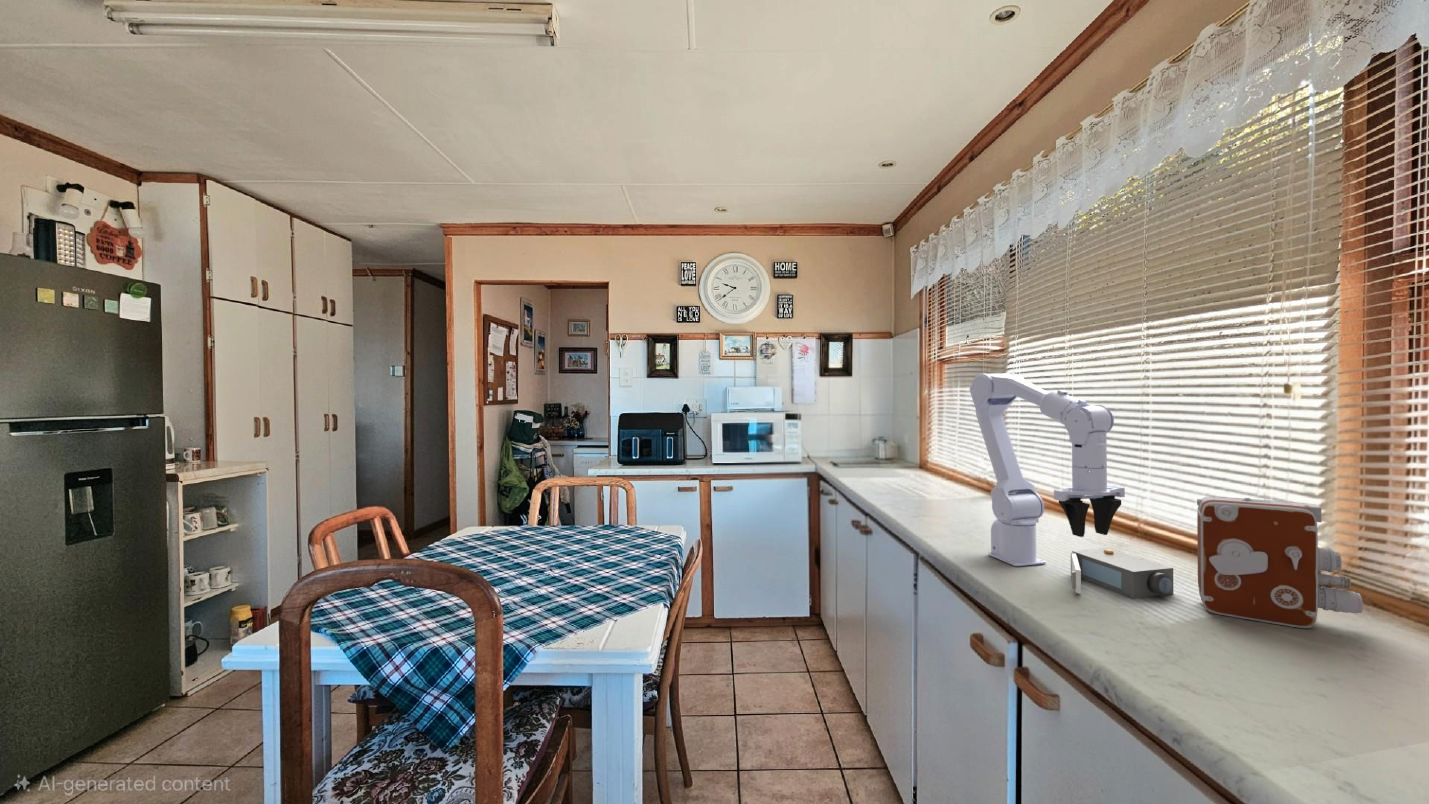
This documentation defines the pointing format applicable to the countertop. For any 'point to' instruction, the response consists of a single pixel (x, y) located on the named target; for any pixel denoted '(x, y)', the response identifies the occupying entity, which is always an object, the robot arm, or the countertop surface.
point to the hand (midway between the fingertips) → (1089, 534)
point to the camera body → (1125, 573)
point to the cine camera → (1267, 562)
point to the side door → (1075, 573)
